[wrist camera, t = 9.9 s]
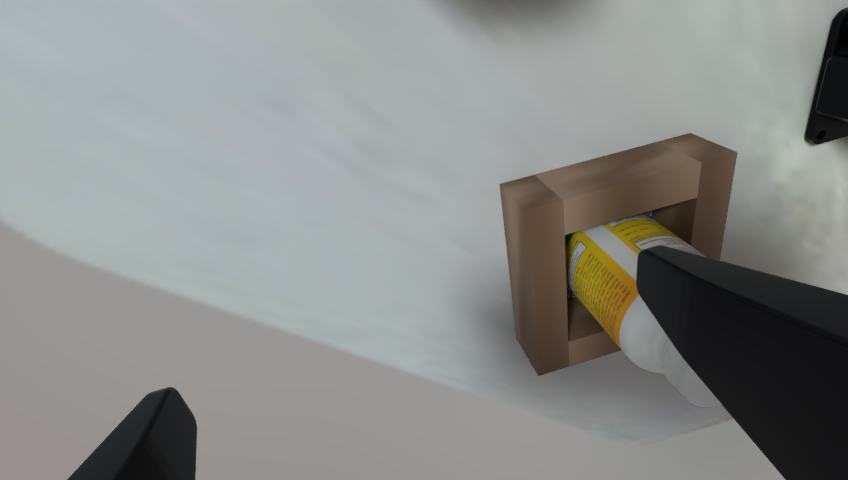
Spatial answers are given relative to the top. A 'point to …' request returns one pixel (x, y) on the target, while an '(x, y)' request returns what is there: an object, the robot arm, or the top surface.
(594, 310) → the supplement bottle
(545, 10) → the top surface
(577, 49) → the top surface
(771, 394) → the robot arm
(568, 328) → the socket block
